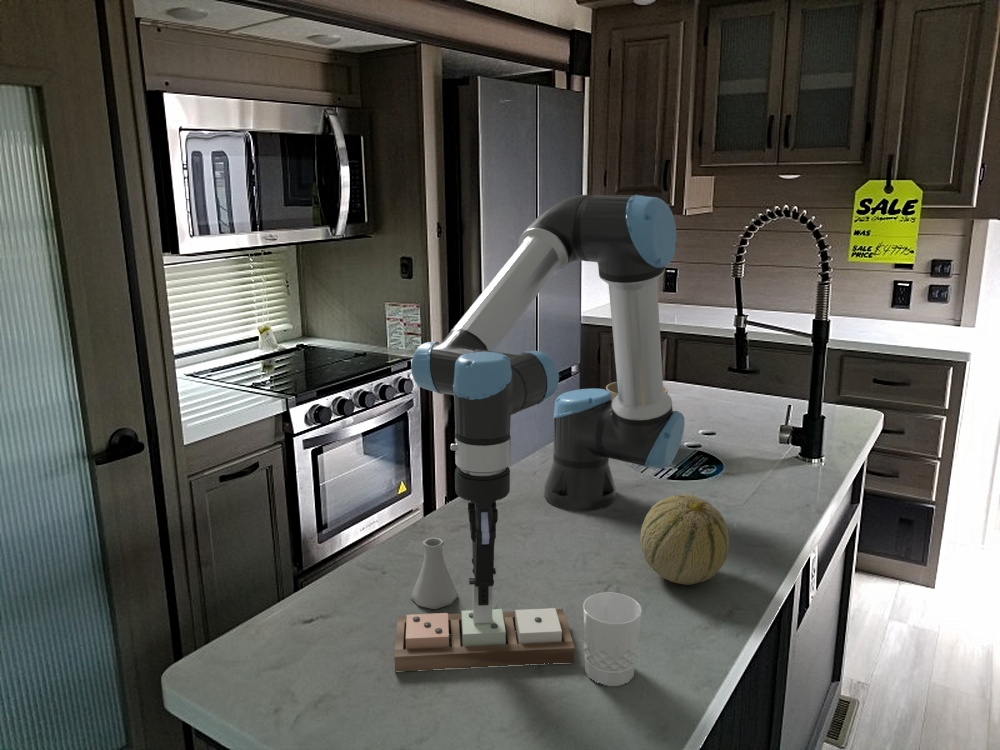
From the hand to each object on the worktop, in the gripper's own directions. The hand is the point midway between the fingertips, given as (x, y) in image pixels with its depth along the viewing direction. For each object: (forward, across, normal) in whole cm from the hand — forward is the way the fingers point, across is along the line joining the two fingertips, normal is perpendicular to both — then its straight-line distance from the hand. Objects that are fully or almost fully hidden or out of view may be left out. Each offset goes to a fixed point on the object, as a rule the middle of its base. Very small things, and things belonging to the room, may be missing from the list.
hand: (482, 619), depth 111 cm
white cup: (+5, +7, +17) cm, 19 cm away
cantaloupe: (+5, -17, +35) cm, 39 cm away
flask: (+5, -14, -7) cm, 16 cm away
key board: (+4, 0, 0) cm, 4 cm away
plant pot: (+4, -80, +43) cm, 91 cm away
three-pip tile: (+4, 0, -8) cm, 9 cm away
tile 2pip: (+4, 0, 0) cm, 4 cm away
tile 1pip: (+4, 0, +8) cm, 9 cm away
